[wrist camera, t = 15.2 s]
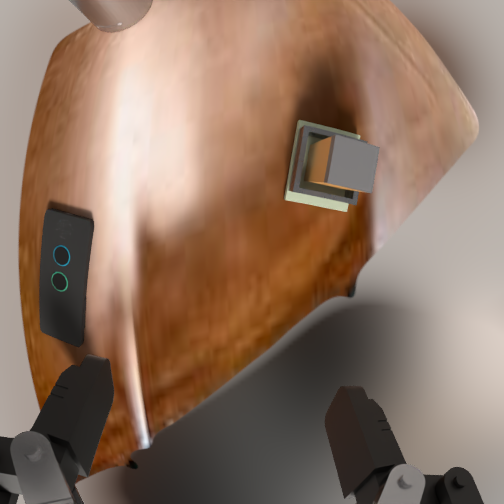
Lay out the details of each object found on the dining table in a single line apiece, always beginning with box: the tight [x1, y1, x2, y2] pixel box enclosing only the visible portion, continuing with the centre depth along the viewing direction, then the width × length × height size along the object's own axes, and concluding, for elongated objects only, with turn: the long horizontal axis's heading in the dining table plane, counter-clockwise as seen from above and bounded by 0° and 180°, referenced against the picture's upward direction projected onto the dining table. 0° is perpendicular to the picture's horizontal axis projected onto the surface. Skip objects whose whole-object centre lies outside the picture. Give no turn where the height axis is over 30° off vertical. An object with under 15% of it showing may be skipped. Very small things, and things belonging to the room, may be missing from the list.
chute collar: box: [288, 125, 367, 205], centre depth 34 cm, size 8×8×3 cm
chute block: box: [304, 135, 380, 193], centre depth 31 cm, size 4×4×10 cm
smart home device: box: [40, 208, 94, 347], centre depth 38 cm, size 8×2×20 cm
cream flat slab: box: [284, 120, 360, 212], centre depth 36 cm, size 10×8×1 cm
